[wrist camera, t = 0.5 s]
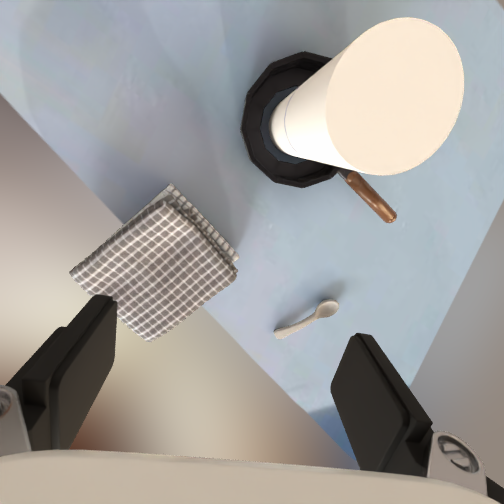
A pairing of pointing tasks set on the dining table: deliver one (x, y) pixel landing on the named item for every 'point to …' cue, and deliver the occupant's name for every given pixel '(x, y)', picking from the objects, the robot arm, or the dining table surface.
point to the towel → (159, 265)
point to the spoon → (310, 318)
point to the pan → (308, 171)
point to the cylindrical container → (376, 101)
